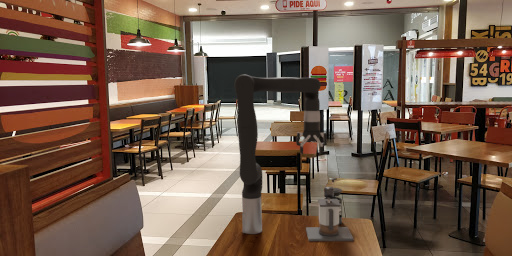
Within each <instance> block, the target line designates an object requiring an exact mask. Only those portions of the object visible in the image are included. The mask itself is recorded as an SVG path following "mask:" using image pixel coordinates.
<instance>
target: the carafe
mask: <svg viewBox="0 0 512 256" xmlns="http://www.w3.org/2000/svg"><path fill="white" fill-rule="evenodd" d="M317 203H318V223H319V227H320V229H319V234H320V235H323V236H328V237H332V236H337V235H338V234H339V230H338V227H339V225H338V224H339V214H340V213H339V209H340V208H341V204H340V203H339V200H338V199H330V203H328V199H324V198H317Z"/></svg>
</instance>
